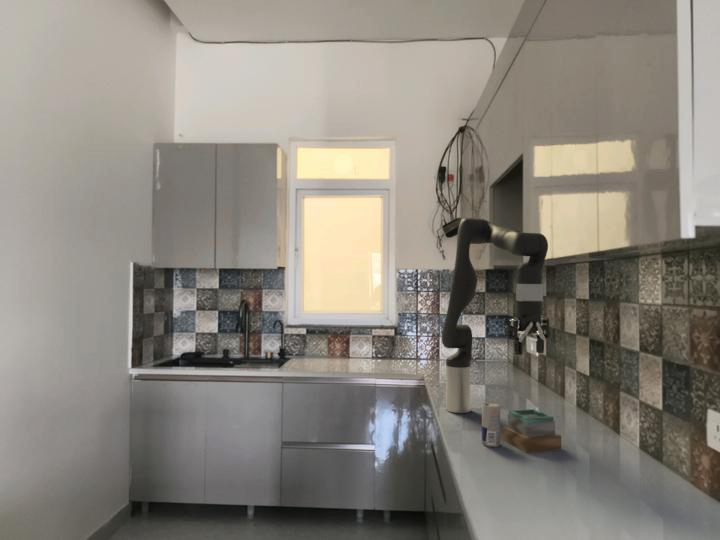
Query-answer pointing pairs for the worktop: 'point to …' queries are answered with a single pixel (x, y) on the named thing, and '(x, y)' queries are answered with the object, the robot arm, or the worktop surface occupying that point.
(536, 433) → the square stepped box
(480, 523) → the worktop surface
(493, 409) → the energy drink
